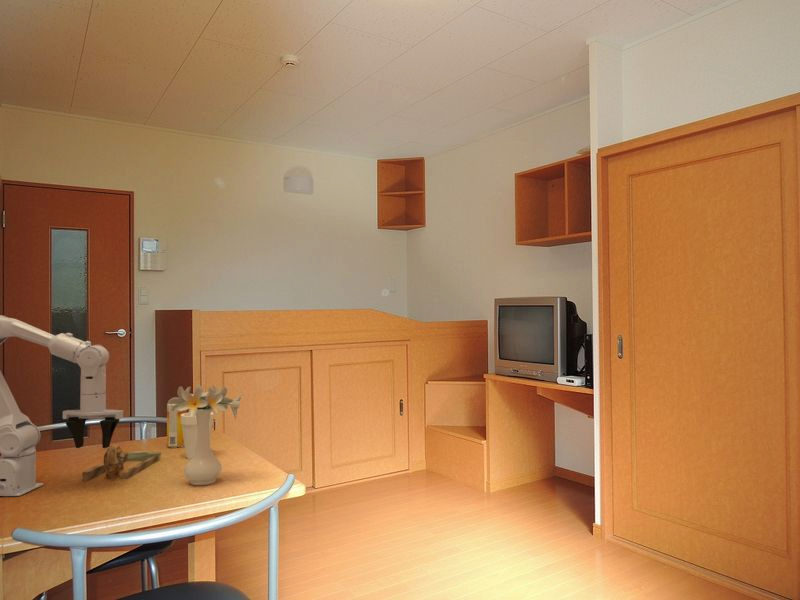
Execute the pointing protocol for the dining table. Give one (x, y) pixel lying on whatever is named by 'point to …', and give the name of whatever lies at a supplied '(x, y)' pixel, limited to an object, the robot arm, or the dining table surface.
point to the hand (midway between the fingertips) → (92, 447)
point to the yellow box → (174, 427)
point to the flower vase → (203, 429)
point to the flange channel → (143, 456)
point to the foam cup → (192, 432)
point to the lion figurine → (113, 460)
